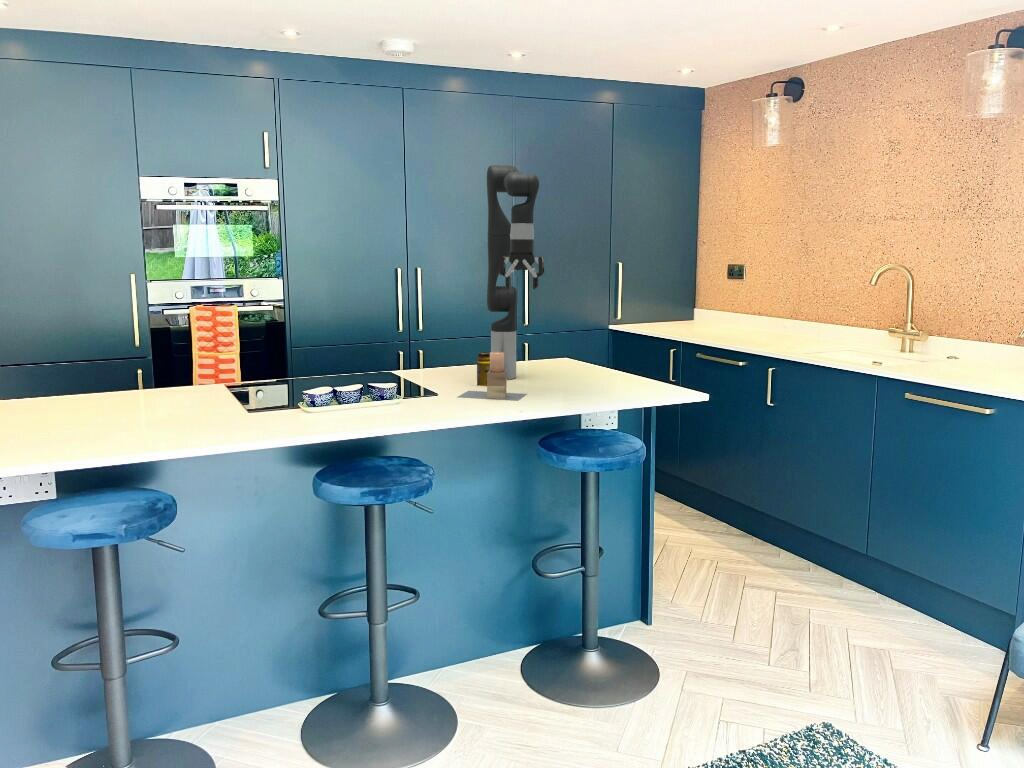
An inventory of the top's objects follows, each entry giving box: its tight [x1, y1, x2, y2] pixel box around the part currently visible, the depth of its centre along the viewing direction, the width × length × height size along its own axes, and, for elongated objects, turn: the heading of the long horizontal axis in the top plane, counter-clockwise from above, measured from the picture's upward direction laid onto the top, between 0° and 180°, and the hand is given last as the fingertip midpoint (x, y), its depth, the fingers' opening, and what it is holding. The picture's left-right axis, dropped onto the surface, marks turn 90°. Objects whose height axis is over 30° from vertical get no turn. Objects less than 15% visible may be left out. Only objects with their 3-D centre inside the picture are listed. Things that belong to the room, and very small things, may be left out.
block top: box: [486, 370, 507, 387], centre depth 262 cm, size 6×6×4 cm
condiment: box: [471, 351, 490, 387], centre depth 285 cm, size 7×8×12 cm
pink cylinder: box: [489, 351, 504, 373], centre depth 261 cm, size 4×4×6 cm
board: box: [457, 390, 528, 402], centre depth 265 cm, size 12×20×1 cm, turn 75°
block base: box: [486, 384, 507, 400], centre depth 262 cm, size 6×6×4 cm
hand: (521, 289), depth 270 cm, fingers open, 8 cm apart
